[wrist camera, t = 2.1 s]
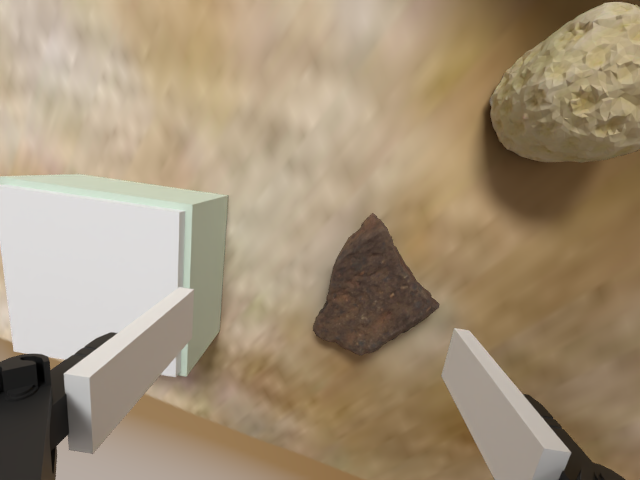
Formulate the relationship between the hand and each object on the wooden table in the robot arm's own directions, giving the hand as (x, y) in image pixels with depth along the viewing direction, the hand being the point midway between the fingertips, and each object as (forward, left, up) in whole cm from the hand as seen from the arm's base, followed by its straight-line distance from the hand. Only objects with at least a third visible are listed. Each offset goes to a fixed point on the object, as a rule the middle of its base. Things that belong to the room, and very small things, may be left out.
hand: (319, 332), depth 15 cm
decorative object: (-14, +13, -15) cm, 24 cm away
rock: (-1, 0, -14) cm, 14 cm away
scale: (+3, -17, -14) cm, 22 cm away
